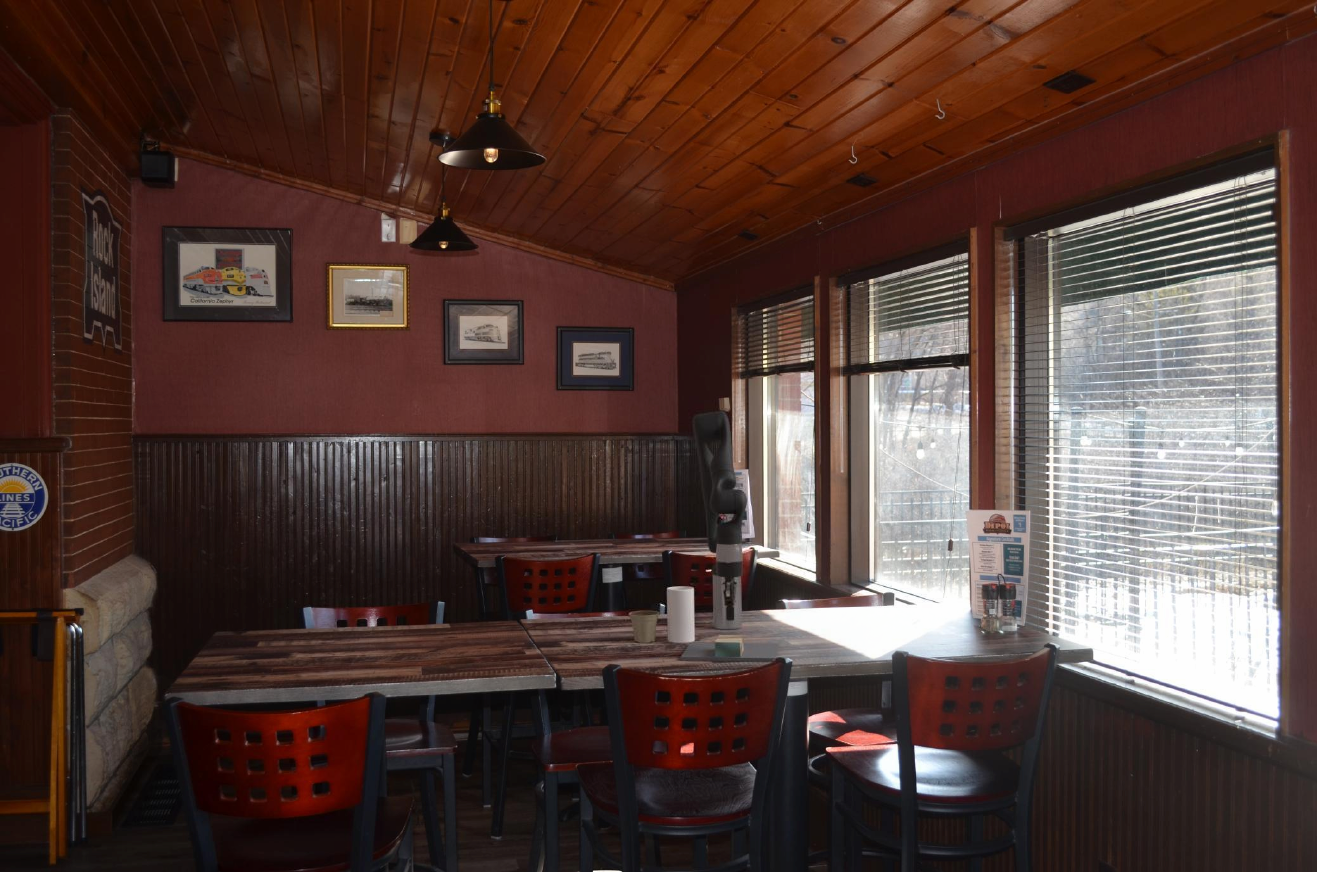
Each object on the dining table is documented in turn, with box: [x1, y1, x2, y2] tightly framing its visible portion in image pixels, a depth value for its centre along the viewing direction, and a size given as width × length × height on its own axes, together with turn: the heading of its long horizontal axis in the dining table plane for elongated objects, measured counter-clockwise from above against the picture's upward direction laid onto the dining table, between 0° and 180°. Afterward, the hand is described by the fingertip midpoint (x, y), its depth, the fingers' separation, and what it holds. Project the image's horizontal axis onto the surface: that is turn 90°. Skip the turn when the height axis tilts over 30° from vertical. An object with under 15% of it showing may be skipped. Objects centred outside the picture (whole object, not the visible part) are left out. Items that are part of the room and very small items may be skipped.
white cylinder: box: [666, 585, 696, 644], centre depth 328 cm, size 8×8×16 cm
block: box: [714, 634, 745, 657], centre depth 302 cm, size 4×7×11 cm
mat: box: [680, 641, 780, 663], centre depth 306 cm, size 22×26×1 cm
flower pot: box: [628, 610, 660, 644], centre depth 328 cm, size 9×9×9 cm
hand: (730, 620), depth 306 cm, fingers closed
